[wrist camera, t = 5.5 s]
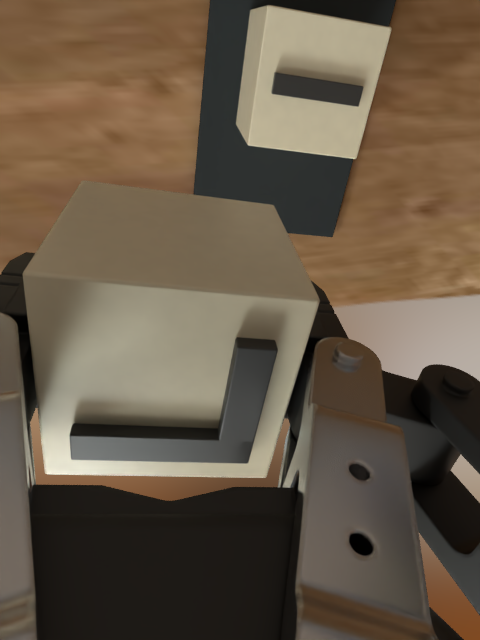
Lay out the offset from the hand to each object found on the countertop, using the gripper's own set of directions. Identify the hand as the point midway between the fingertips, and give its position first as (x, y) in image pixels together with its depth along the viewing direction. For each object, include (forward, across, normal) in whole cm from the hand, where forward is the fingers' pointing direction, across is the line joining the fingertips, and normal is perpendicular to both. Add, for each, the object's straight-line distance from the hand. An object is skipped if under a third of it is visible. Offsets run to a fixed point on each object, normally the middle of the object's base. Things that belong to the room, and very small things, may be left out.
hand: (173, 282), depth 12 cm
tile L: (0, 0, 0) cm, 0 cm away
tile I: (+13, -5, -4) cm, 14 cm away
